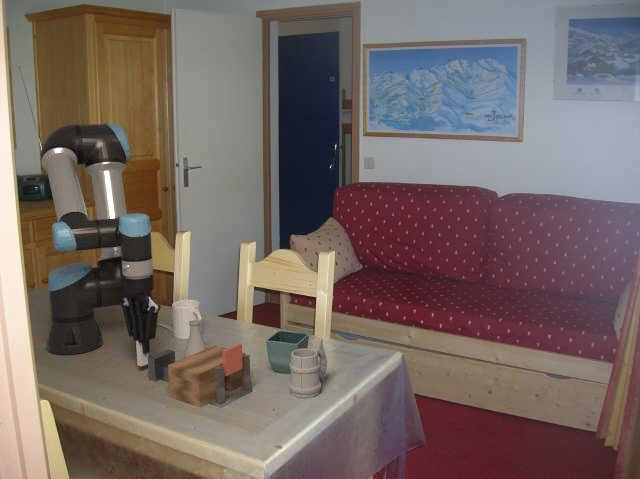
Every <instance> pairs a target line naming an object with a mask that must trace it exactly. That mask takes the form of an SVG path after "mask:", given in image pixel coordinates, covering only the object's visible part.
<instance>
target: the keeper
mask: <svg viewBox="0 0 640 479" xmlns="http://www.w3.org/2000/svg"><path fill="white" fill-rule="evenodd" d="M226 348H227V349H224V350H222V355H223V367H224V376H228V375H230V374H232V373H234V372H236V371H238V370H241V369H243V363H242V352H243V344H242V343H239V342H238V343H236V344H234V345H232V346H229V347H226Z"/></svg>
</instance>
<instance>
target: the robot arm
mask: <svg viewBox="0 0 640 479" xmlns="http://www.w3.org/2000/svg"><path fill="white" fill-rule="evenodd" d="M130 148H131V147H130V143H129V138H128V136H127V133H126V131H125V129H124V127H123V126H121V125H120V124H116V123H100V124H99V123H96V124H94V123H93V124H67V125H62V126H60V127H58V128H56V129H55V130H54V131H52V132H51V133H50V134H49V135H48V137H47V138H46V139H45V140H44V142H43V144H42V146H41V150H40V163H41V166H42V168H43V170H44V171H45V172H46V173H47V177H48V181H49V186H50V190H51V195H52V200H53V204H54V209H55V214H56V220H57V222H55V223H53V224H52V225H51V237H52V243H53V249H54V250H55V251H57V252H59V253H63V252H64V253H65V252H66V253H69V252H72V253H74V252H78V251H79V252H80V251H87V250H98V249H99V250H100V253H101V255H100V256H99V258H98V259H97V260H96V264H97V266H95V267H92V264H91V263H89V262H74V263H68V264H65V265H62V266H59V267H57V268H55V269H53V270H52V271H50V273H48V276H47V283H48V284H47V285H48V286H47V290H48V293H49V294H48V295H49V306H50V317H51V318H50V320H51V323H50V327H49V331H48V335H47V339H46V350H47V352H49V353H51V354H55V355H62V356H65V355H68V356H69V355H79V354H84V353H88V352H91V351H94V350H97V349H99V348H100V347H101V346H102V345H103V344H104V339H103V338H104V337H103V333H102V331H101V329H100V326H99V324H98V321H97V319H96V317H95V314H96V313H95V309H98V308H106V307H107V308H108V307H114V306H115V307H116V306H121V308H122V314H123V316H124V321H125V325H126V326H125V327H126V329H127V334H128V335H127V336H128V337H132V338H133V341H134V345H135V347H134V348H135V352H136V362H137V364H136V365H137V366H139V367H143V366H147V365H148V357H150V351H151V349H150V341H151V340H154V339H156V333H157V327H158V326H157V323H158V318H159V312H160V310H161V308H162V307H161V305H160V303H157V304H156V303H155V302H154V297H153V294H152V293H153V290H154V289H155V285H154V284H155V283H154V275H153V274H154V266H153V265H154V264H153V252H152V226H151V221H150V216H149V215H148V214H146V213H140V212H139V213H134V212H133V213H128V212H127V211H128V210H127V205H126V198H125V197H126V195H125V187H124V181H123V174H122V173H123V172H124V171H125V170H126V168H127V165H126V164H127V163H129V162H130V160H131V151H130V150H131V149H130ZM77 165H78V166H79V165H84V169H85V172H86V173H87V174H89V175H90V176H91V182H92V189H93V197H94V204H95V205H94V206H95V212H96V219H90V218H89V216H88V211H87V207H86V203H85V199H84V196H83V190H82V188H81V185H80V184H81V183H80V179H79V176H78V172H77Z"/></svg>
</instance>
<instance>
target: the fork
mask: <svg viewBox="0 0 640 479" xmlns="http://www.w3.org/2000/svg"><path fill="white" fill-rule="evenodd" d="M157 325H158V326H160V327H162V328H165V329H167V330H168V331H171V332H173V325H172V326H171V325H167V324H163V323H159V322H157Z"/></svg>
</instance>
